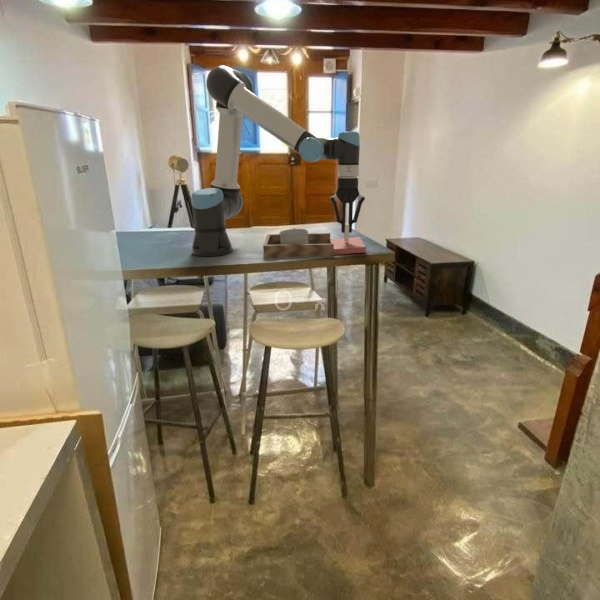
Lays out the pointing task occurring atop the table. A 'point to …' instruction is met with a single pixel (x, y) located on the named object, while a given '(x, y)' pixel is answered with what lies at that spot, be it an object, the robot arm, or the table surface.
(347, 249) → the pink flat slab
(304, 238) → the teacup
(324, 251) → the crate
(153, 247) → the table surface
